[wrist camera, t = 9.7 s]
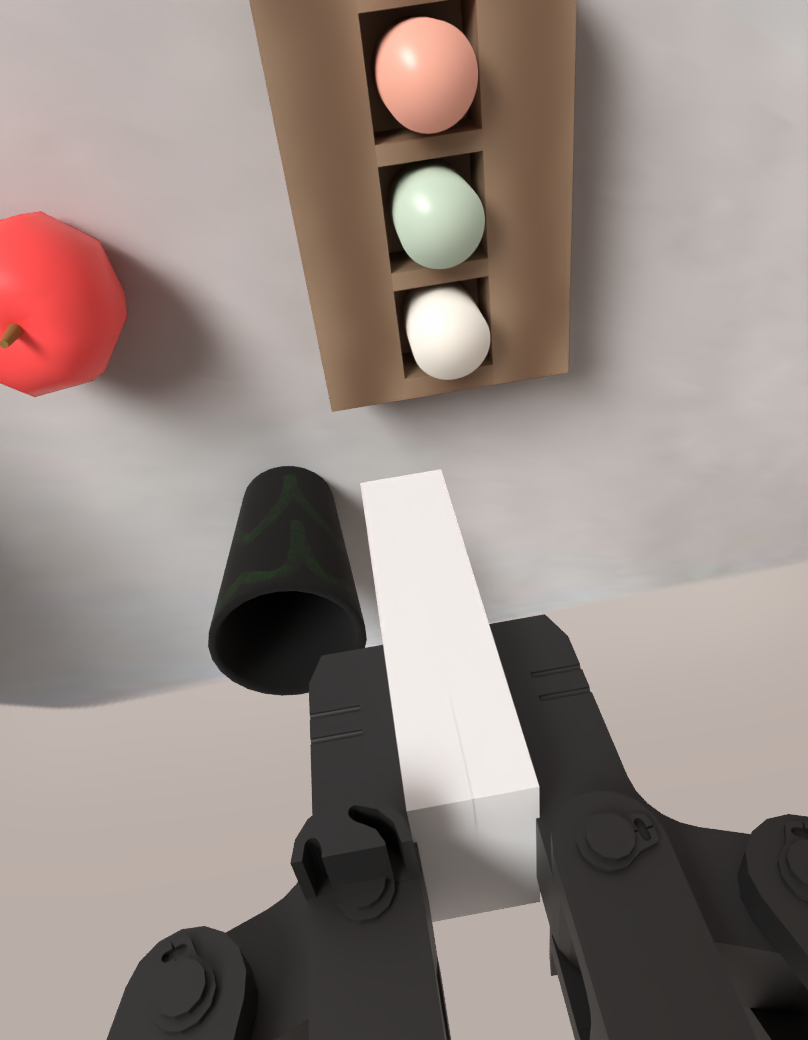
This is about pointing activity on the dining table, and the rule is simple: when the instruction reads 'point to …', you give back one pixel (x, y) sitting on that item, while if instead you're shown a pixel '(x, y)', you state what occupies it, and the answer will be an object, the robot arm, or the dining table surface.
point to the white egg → (445, 330)
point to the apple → (55, 305)
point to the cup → (285, 586)
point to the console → (391, 146)
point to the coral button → (424, 73)
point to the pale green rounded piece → (435, 214)
